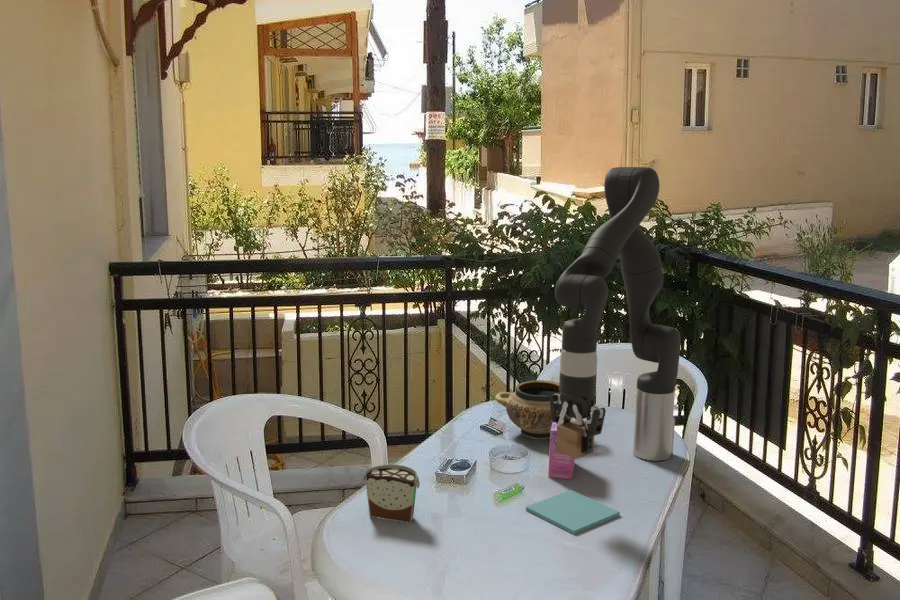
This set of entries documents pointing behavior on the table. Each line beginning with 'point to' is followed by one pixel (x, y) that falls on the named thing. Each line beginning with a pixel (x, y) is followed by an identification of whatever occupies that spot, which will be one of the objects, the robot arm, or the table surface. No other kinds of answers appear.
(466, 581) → the table surface
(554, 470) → the box
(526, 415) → the ceramic bowl
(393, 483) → the food container
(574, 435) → the cube
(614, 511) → the mat
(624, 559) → the table surface
